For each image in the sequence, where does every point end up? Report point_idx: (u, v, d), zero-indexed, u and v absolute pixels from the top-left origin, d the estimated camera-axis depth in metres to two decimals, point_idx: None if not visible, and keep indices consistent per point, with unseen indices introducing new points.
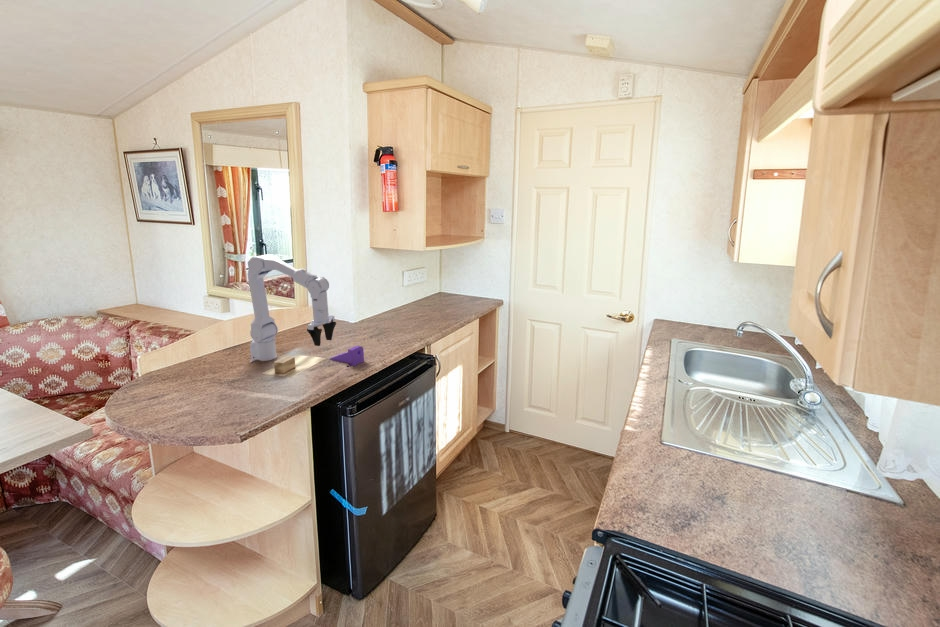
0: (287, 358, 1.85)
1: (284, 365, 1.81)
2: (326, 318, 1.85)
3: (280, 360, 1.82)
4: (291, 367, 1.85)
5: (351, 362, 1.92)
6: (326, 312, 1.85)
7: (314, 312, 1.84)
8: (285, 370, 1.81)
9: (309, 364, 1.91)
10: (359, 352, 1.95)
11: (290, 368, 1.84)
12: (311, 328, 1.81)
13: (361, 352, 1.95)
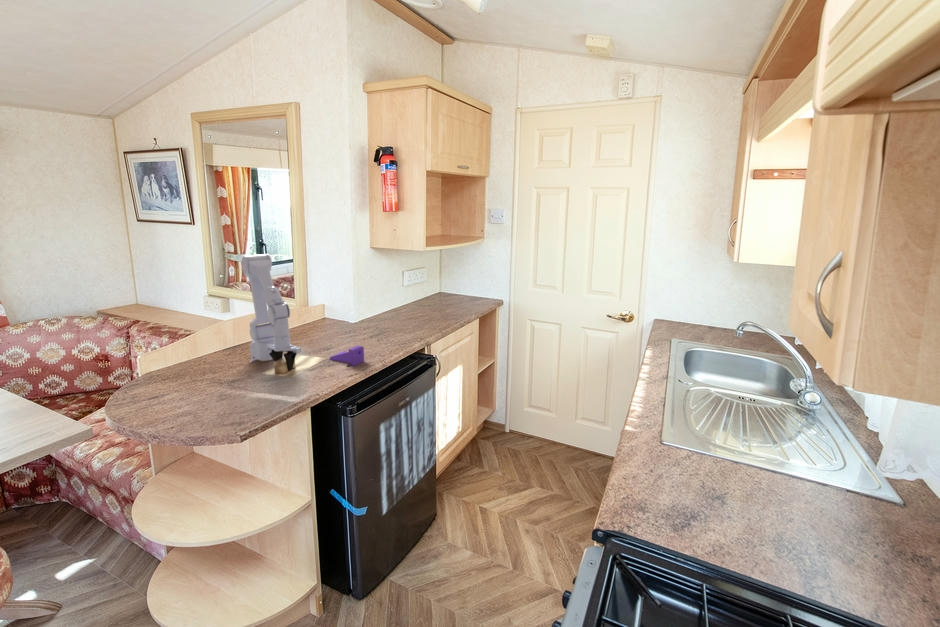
0: None
1: (284, 365, 1.81)
2: (276, 346, 1.79)
3: (280, 360, 1.82)
4: None
5: (351, 362, 1.92)
6: (276, 340, 1.79)
7: None
8: (285, 370, 1.81)
9: (309, 364, 1.91)
10: (359, 352, 1.95)
11: None
12: None
13: (361, 352, 1.95)
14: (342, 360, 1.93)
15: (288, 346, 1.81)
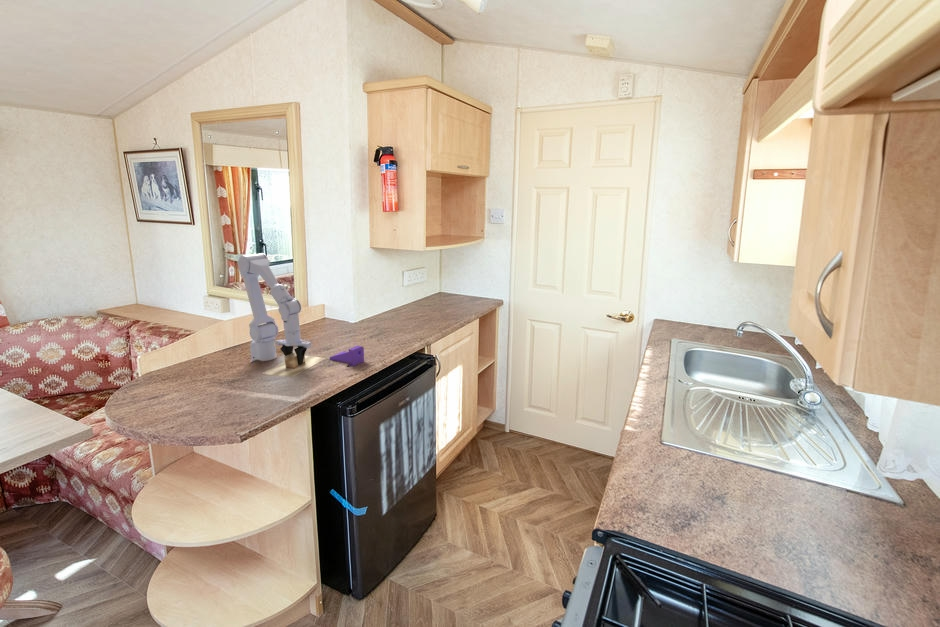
0: None
1: (294, 359, 1.86)
2: (287, 341, 1.85)
3: (290, 355, 1.88)
4: None
5: (351, 362, 1.92)
6: (287, 335, 1.85)
7: None
8: (295, 364, 1.87)
9: (309, 364, 1.91)
10: (359, 352, 1.95)
11: None
12: None
13: (361, 352, 1.95)
14: (342, 360, 1.93)
15: (298, 341, 1.87)
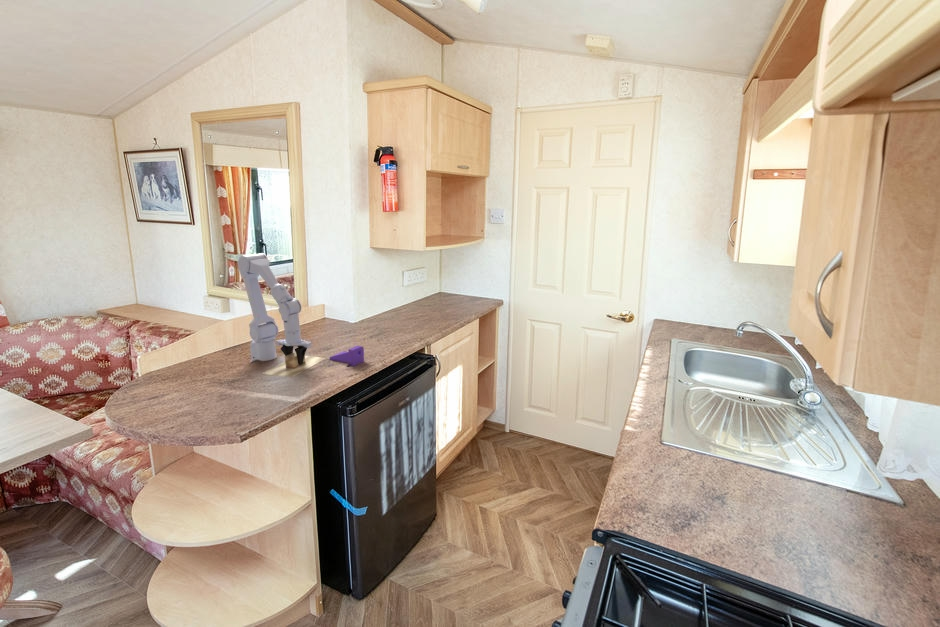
0: None
1: (295, 359, 1.87)
2: (287, 340, 1.85)
3: (291, 355, 1.88)
4: None
5: (351, 362, 1.92)
6: (287, 335, 1.85)
7: None
8: (296, 364, 1.87)
9: (309, 364, 1.91)
10: (359, 352, 1.95)
11: None
12: None
13: (361, 352, 1.95)
14: (342, 360, 1.93)
15: (299, 341, 1.87)
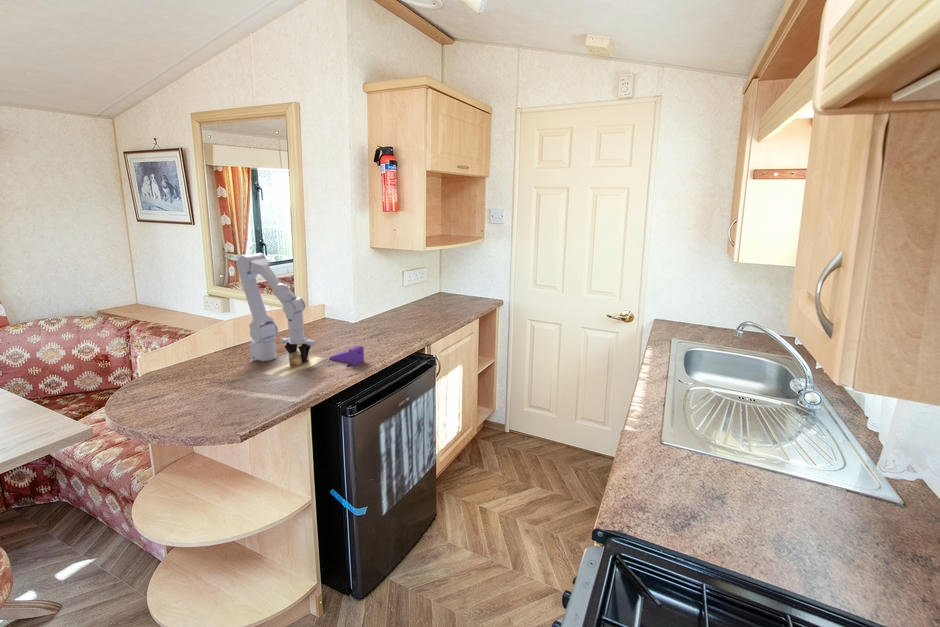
0: None
1: (298, 357, 1.89)
2: (291, 339, 1.88)
3: (294, 353, 1.90)
4: None
5: (351, 362, 1.92)
6: (291, 333, 1.87)
7: None
8: (299, 362, 1.90)
9: (309, 364, 1.91)
10: (359, 352, 1.95)
11: None
12: None
13: (361, 352, 1.95)
14: (342, 360, 1.93)
15: (302, 339, 1.89)
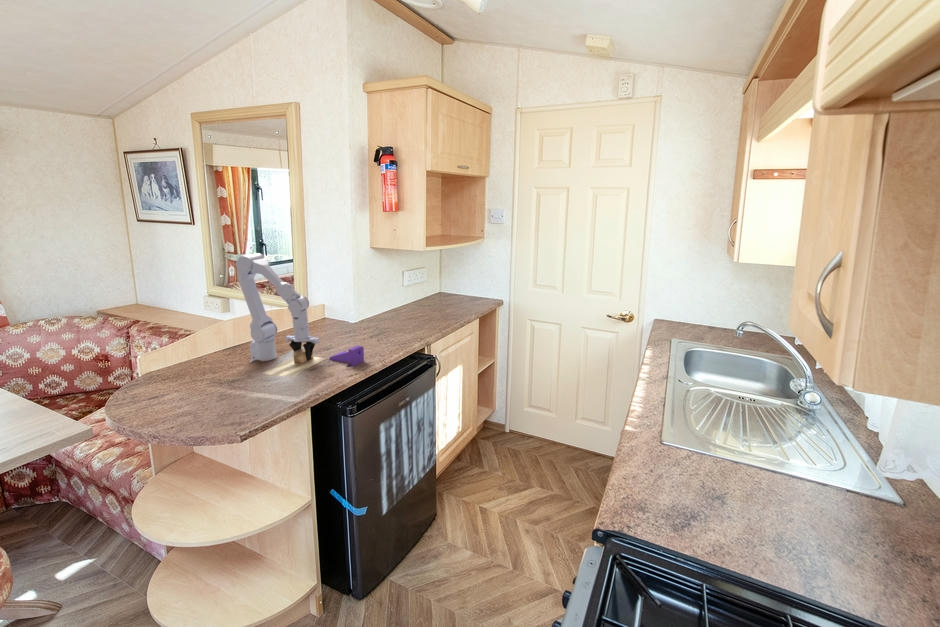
0: None
1: (303, 355, 1.91)
2: (296, 336, 1.91)
3: (299, 351, 1.93)
4: None
5: (351, 362, 1.92)
6: (296, 331, 1.90)
7: None
8: (304, 360, 1.92)
9: (309, 364, 1.91)
10: (359, 352, 1.95)
11: None
12: None
13: (361, 352, 1.95)
14: (342, 360, 1.93)
15: (307, 337, 1.92)
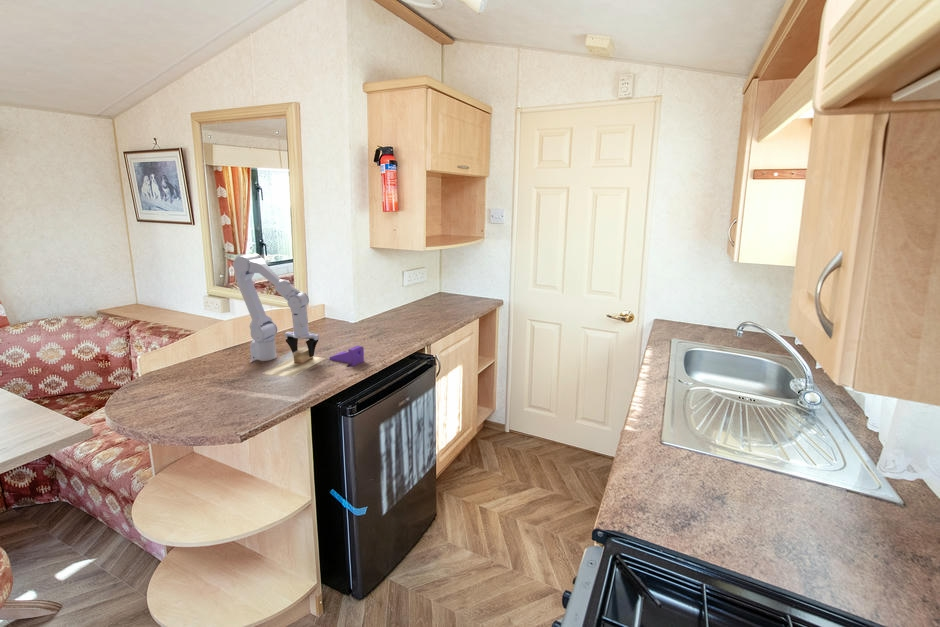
0: (305, 349, 1.96)
1: (303, 355, 1.91)
2: (296, 333, 1.90)
3: (299, 351, 1.93)
4: (309, 357, 1.96)
5: (351, 362, 1.92)
6: (296, 327, 1.90)
7: None
8: (304, 360, 1.92)
9: (309, 364, 1.91)
10: (359, 352, 1.95)
11: (308, 358, 1.95)
12: None
13: (361, 352, 1.95)
14: (342, 360, 1.93)
15: (307, 333, 1.92)
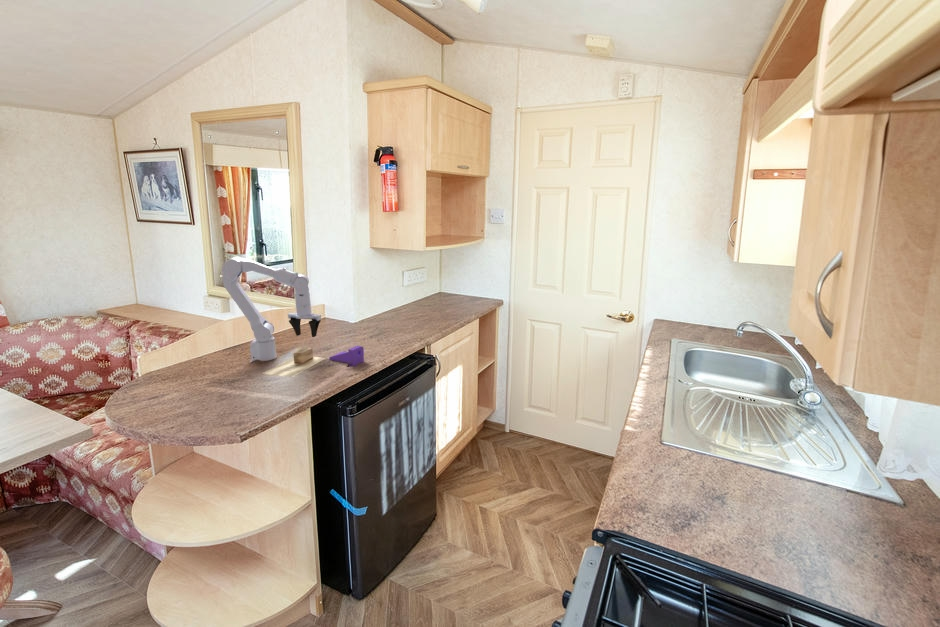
0: (305, 349, 1.96)
1: (303, 355, 1.91)
2: (298, 313, 1.96)
3: (299, 351, 1.93)
4: (309, 357, 1.96)
5: (351, 362, 1.92)
6: (298, 308, 1.95)
7: None
8: (304, 360, 1.92)
9: (309, 364, 1.91)
10: (359, 352, 1.95)
11: (308, 358, 1.95)
12: None
13: (361, 352, 1.95)
14: (342, 360, 1.93)
15: (309, 314, 1.97)
